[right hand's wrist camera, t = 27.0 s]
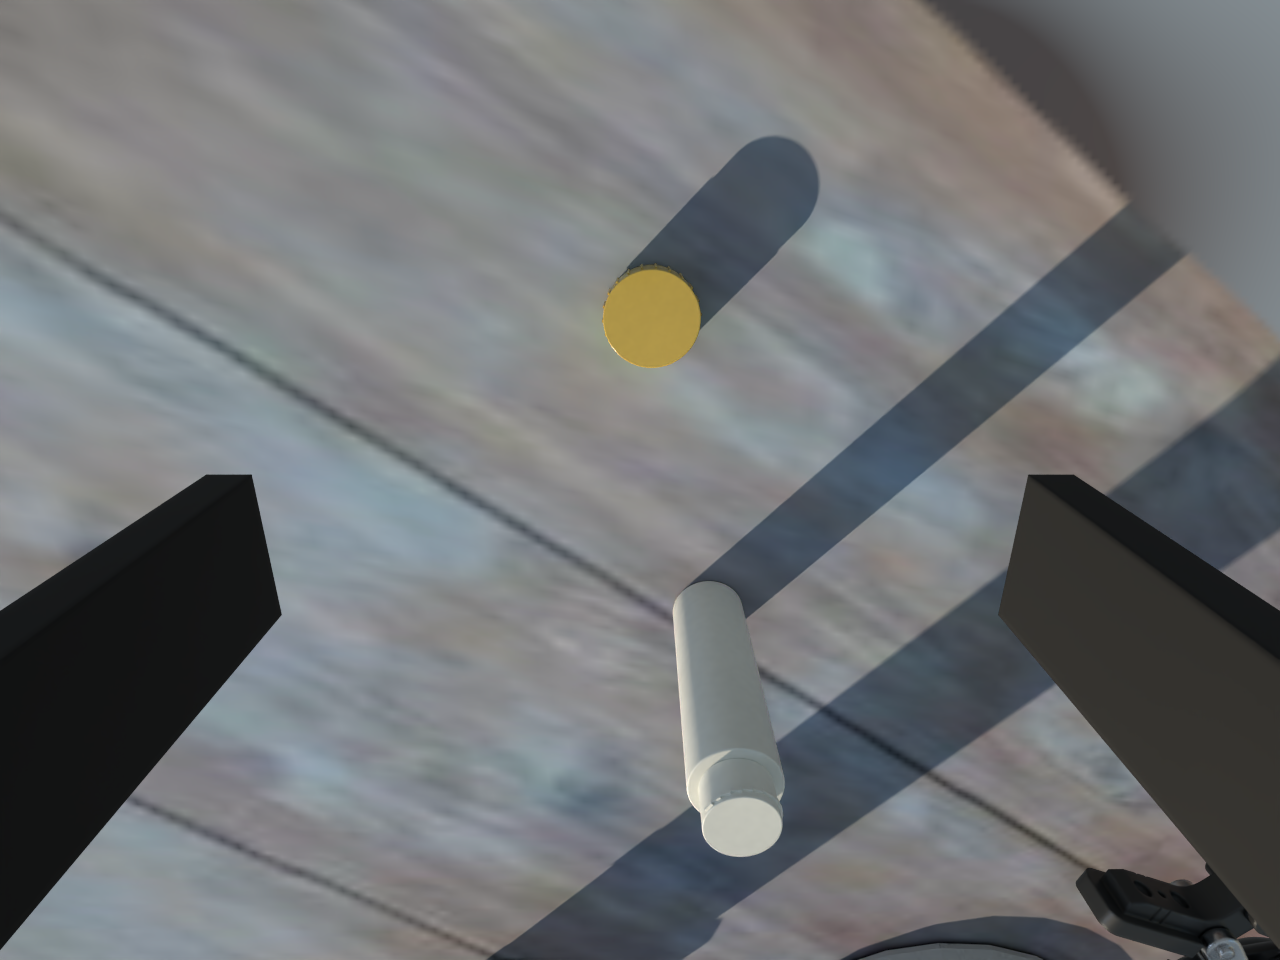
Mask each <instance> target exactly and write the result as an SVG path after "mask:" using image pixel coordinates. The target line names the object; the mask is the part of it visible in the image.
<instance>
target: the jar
mask: <svg viewBox="0 0 1280 960" xmlns="http://www.w3.org/2000/svg"><path fill="white" fill-rule="evenodd" d="M673 619H674V632H675V645H676V657H677V670H678V683H679V696H680V709H681V722H682V735H683V747H684V760H685V773H686V786H687V794H688V797H689V799H690V801H691V803H692V804H693V806H694V807H695V808H696V809H697V810H698V811H699V812H700V813H701V823H702V832H703V836H704V838H705V840H706V841H707V843H708V844H709V845H710V846H711V847H712V848H713V849H715V850H716V851H718V852H720V853H722V854H725V855H729V856H736V857H745V856H752V855H756V854H759V853H761V852H763V851H765V850H767V849H768V848H770V847H771V846H772V845H773V844H774V843H775V842H776V841H777V840H778V838H779V837H780V834H781V832H782V827H783V822H782V818H783V809H782V805H781V803H780V800H781V798H782V795H783V792H784V789H785V778H784V774H783V770H782V766H781V761H780V757H779V753H778V749H777V745H776V741H775V737H774V733H773V729H772V725H771V721H770V717H769V712H768V708H767V704H766V700H765V696H764V692H763V688H762V684H761V680H760V676H759V672H758V668H757V664H756V659H755V655H754V651H753V647H752V643H751V639H750V635H749V631H748V627H747V623H746V619H745V615H744V610H743V606H742V602H741V600H740V598H739V596H738V595H737V593H736V592H735V591H734V590H733V589H732V588H730V587H729V586H727V585H725V584H722V583H719V582H715V581H703V582H698V583H695V584H693V585H691V586H689V587H687V588H686V589H685V590H683V591H682V592H681V594H680V595H679V596H678V597H677V599H676V601H675V604H674V608H673Z"/></svg>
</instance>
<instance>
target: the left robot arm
mask: <svg viewBox="0 0 1280 960" xmlns="http://www.w3.org/2000/svg"><path fill="white" fill-rule="evenodd" d="M1205 869H1206V871H1207V872H1208V873H1209V874H1210V876H1208V877H1207V878H1205V879H1204V880H1202V881H1200V882H1198V883H1196V884H1193V883H1192V882H1190V881H1188V880H1176V881H1173V882H1171V883H1166V882H1163V881H1160V880H1156V879H1153V878H1150V877H1145V876H1144V875H1140V874H1136V873H1134V872H1131V871H1127V870H1124V869H1108V870H1107V872H1102V871H1099V870H1096V869H1093V868H1087V869H1086V870H1085V871H1084V873H1083V874H1082V875H1081V876H1080V877H1079V879H1078V880H1077V881H1076V886H1077V888H1078V890H1079V891H1080V893H1081V895H1082V896H1083V898H1084V899H1085V901H1086V903H1087V904H1088V906H1089V907H1090V909H1091V911H1092V912H1093V914H1094V915H1095V917H1096V919H1097V920H1098V921H1099V923H1100V924H1101V925H1102V926H1103V927H1104V928H1105V929H1106V930H1108V931H1109V932H1110V933H1112V934H1114V935H1116V936H1119V937H1123V938H1126V939H1130V940H1133V941H1136V942H1140V943H1143V944H1147V945H1150V946H1153V947H1157V948H1160V949H1164V950H1167V951H1170V952H1174V953H1177V954H1180V955H1184V957H1182V958H1180V959H1178V960H1280V950H1279V948H1278V947H1277V946H1276V945H1275V944H1274V942H1273V941H1272V940H1271V939H1270V938H1264V937H1247V938H1241V939H1237V938H1238V937H1239V936H1241V935H1243V934H1244V933H1246V932H1248V931H1250V930H1251V929H1253V928H1254V929H1255V930H1256V931H1257V932H1258V933H1259V934H1262V935H1264V936H1267V937H1268V935H1267V934H1266V933H1265V932H1264V931H1263V929H1262V928H1261V927H1260V926H1259V925H1258V923H1257V922H1256V921H1255V920H1254V919H1253V917H1252V916H1251V915H1250V914H1249V913H1248V912H1247V910H1246V909H1245V908H1244V907H1243V906H1242V904H1241V903H1240V902H1239V901H1238V900H1237V898H1236V897H1235V896H1234V895H1233V894H1232V892H1231V891H1230V890H1229V889H1228V888H1227V887H1226V885H1225V884H1224V883H1223V882H1222V881H1221V879H1220V878H1219V877H1218V876H1217V875H1216V873H1215V872H1214V871H1213V870H1212V869H1211V867H1210V866H1209V865H1208V864H1207V863H1206V865H1205ZM1168 960H1169V959H1168Z"/></svg>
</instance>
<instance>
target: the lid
mask: <svg viewBox="0 0 1280 960" xmlns="http://www.w3.org/2000/svg"><path fill="white" fill-rule="evenodd" d="M692 289H693V287H692V285H691V283H688V282H687V281H686V280H685V279H684V277H683V275H682V274H681V273H680V274H679V273H677V272H676V271H674V270H672V269H671V268H670V267H669V266H668V267H665V266H661V265H657V264H656V263H654V265H643V264H641V266H639V267H636V268H633V269H631V270H630V269H628V270H627V272H626V273H625V274H623V275H622V276H621V277H620V278H619V277H617V279H616V282H615V284H614V285H613V286H612V288H609V291H608V297H607V300H606V301H605V302H604V305H603V308H604V314H603V319H602V323H603V324H604V330H605V336H607V339H608V341H609V343H610V345H611V346H612V348H613V349H614V350H615V351H616V352H617V353H618V354H619V355H620V356H621V357H622V358H623V359H625V360H626V361H628V362H630V363H632V364H634V365H637V366H641V367H647V368H657V367H663V366H667V365H669V364H672V363H674V362H676V361H677V360H679V359H680V358H682V357H683V356H684V355H685V354H686V353H687V352H688V351H689V350H690V349H691V347H692V346H693V344H694V343H695V341H696V338H697V336H698V333H699V330H700V324H701V316H702V313H701V311H700V307H699V303H698V302H699V299H698V297H697V295H695V294H694V292H693V290H692Z"/></svg>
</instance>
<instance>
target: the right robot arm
mask: <svg viewBox="0 0 1280 960" xmlns="http://www.w3.org/2000/svg"><path fill="white" fill-rule="evenodd" d="M281 615H282V614H281V609H280V605H279V600H278V595H277V591H276V586H275V581H274V577H273V572H272V567H271V563H270V558H269V553H268V549H267V544H266V539H265V535H264V530H263V525H262V521H261V516H260V511H259V507H258V502H257V497H256V493H255V488H254V483H253V479H252V475H205V476H204V477H202V478H201V479H199V480H198V481H196V482H195V483H193V484H192V485H190V486H189V487H187V488H185V489H184V490H182V491H181V492H179V493H178V494H176V495H175V496H173V497H172V498H170V499H169V500H167V501H166V502H164V503H163V504H161V505H160V506H158V507H157V508H155V509H154V510H152V511H151V512H149V513H148V514H146V515H145V516H143V517H142V518H140V519H139V520H137V521H136V522H134V523H133V524H131V525H129V526H128V527H126V528H125V529H123V530H122V531H120V532H119V533H117V534H116V535H114V536H113V537H111V538H110V539H108V540H107V541H105V542H104V543H102V544H101V545H99V546H98V547H96V548H95V549H93V550H92V551H90V552H89V553H87V554H86V555H84V556H83V557H81V558H80V559H78V560H77V561H75V562H73V563H72V564H70V565H69V566H67V567H66V568H64V569H63V570H61V571H60V572H58V573H57V574H55V575H54V576H52V577H51V578H49V579H48V580H46V581H45V582H43V583H42V584H40V585H39V586H37V587H36V588H34V589H33V590H31V591H30V592H28V593H27V594H25V595H24V596H22V597H21V598H19V599H18V600H16V601H14V602H13V603H11V604H10V605H8V606H7V607H5V608H4V609H2V610H1V611H0V950H1V948H2V947H3V946H4V945H5V944H6V942H7V941H8V940H9V939H10V938H11V937H12V935H13V934H14V933H15V932H16V931H17V929H18V928H19V927H20V926H21V925H22V923H23V922H24V921H25V920H26V919H27V917H28V916H29V915H30V914H31V913H32V912H33V910H34V909H35V908H36V907H37V906H38V904H39V903H40V902H41V901H42V900H43V898H44V897H45V896H46V895H47V894H48V892H49V891H50V890H51V889H52V888H53V887H54V885H55V884H56V883H57V882H58V881H59V879H60V878H61V877H62V876H63V875H64V873H65V872H66V871H67V870H68V869H69V867H70V866H71V865H72V864H73V863H74V862H75V860H76V859H77V858H78V857H79V856H80V854H81V853H82V852H83V851H84V850H85V848H86V847H87V846H88V845H89V844H90V842H91V841H92V840H93V839H94V838H95V837H96V835H97V834H98V833H99V832H100V831H101V829H102V828H103V827H104V826H105V825H106V823H107V822H108V821H109V820H110V819H111V817H112V816H113V815H114V814H115V813H116V811H117V810H118V809H119V808H120V807H121V806H122V804H123V803H124V802H125V801H126V800H127V798H128V797H129V796H130V795H131V794H132V792H133V791H134V790H135V789H136V788H137V786H138V785H139V784H140V783H141V782H142V781H143V779H144V778H145V777H146V776H147V775H148V773H149V772H150V771H151V770H152V769H153V767H154V766H155V765H156V764H157V763H158V761H159V760H160V759H161V758H162V757H163V756H164V754H165V753H166V752H167V751H168V750H169V748H170V747H171V746H172V745H173V744H174V742H175V741H176V740H177V739H178V738H179V736H180V735H181V734H182V733H183V732H184V731H185V729H186V728H187V727H188V726H189V725H190V723H191V722H192V721H193V720H194V719H195V717H196V716H197V715H198V714H199V713H200V711H201V710H202V709H203V708H204V707H205V706H206V704H207V703H208V702H209V701H210V700H211V698H212V697H213V696H214V695H215V694H216V692H217V691H218V690H219V689H220V688H221V686H222V685H223V684H224V683H225V682H226V681H227V679H228V678H229V677H230V676H231V675H232V673H233V672H234V671H235V670H236V669H237V667H238V666H239V665H240V664H241V663H242V661H243V660H244V659H245V658H246V657H247V656H248V654H249V653H250V652H251V651H252V650H253V648H254V647H255V646H256V645H257V644H258V642H259V641H260V640H261V639H262V638H263V636H264V635H265V634H266V633H267V632H268V631H269V629H270V628H271V627H272V626H273V625H274V623H275V622H276V621H277V620H278V619H279V617H280V616H281ZM998 615H999V616H1000V617H1001V619H1002V620H1003V621H1004V622H1005V623H1006V625H1007V626H1008V627H1009V628H1010V629H1011V631H1012V632H1013V633H1014V634H1015V635H1016V636H1017V638H1018V639H1019V640H1020V641H1021V642H1022V644H1023V645H1024V646H1025V647H1026V648H1027V650H1028V651H1029V652H1030V653H1031V654H1032V656H1033V657H1034V658H1035V659H1036V660H1037V661H1038V663H1039V664H1040V665H1041V666H1042V667H1043V669H1044V670H1045V671H1046V672H1047V673H1048V675H1049V676H1050V677H1051V678H1052V679H1053V681H1054V682H1055V683H1056V684H1057V685H1058V686H1059V688H1060V689H1061V690H1062V691H1063V692H1064V694H1065V695H1066V696H1067V697H1068V698H1069V700H1070V701H1071V702H1072V703H1073V704H1074V706H1075V707H1076V708H1077V709H1078V710H1079V711H1080V713H1081V714H1082V715H1083V716H1084V717H1085V719H1086V720H1087V721H1088V722H1089V723H1090V725H1091V726H1092V727H1093V728H1094V729H1095V731H1096V732H1097V733H1098V734H1099V735H1100V736H1101V738H1102V739H1103V740H1104V741H1105V742H1106V744H1107V745H1108V746H1109V747H1110V748H1111V750H1112V751H1113V752H1114V753H1115V754H1116V756H1117V757H1118V758H1119V759H1120V760H1121V761H1122V763H1123V764H1124V765H1125V766H1126V767H1127V769H1128V770H1129V771H1130V772H1131V773H1132V775H1133V776H1134V777H1135V778H1136V779H1137V781H1138V782H1139V783H1140V784H1141V785H1142V786H1143V788H1144V789H1145V790H1146V791H1147V792H1148V794H1149V795H1150V796H1151V797H1152V798H1153V800H1154V801H1155V802H1156V803H1157V804H1158V806H1159V807H1160V808H1161V809H1162V810H1163V811H1164V813H1165V814H1166V815H1167V816H1168V817H1169V819H1170V820H1171V821H1172V822H1173V823H1174V825H1175V826H1176V827H1177V828H1178V829H1179V831H1180V832H1181V833H1182V834H1183V835H1184V837H1185V838H1186V839H1187V840H1188V841H1189V842H1190V844H1191V845H1192V846H1193V847H1194V848H1195V850H1196V851H1197V852H1198V853H1199V854H1200V856H1201V857H1202V858H1203V859H1204V860H1205V862H1206V863H1207V864H1208V865H1209V866H1210V867H1211V869H1212V870H1213V871H1214V872H1215V873H1216V875H1217V876H1218V877H1219V878H1220V879H1221V881H1222V882H1223V883H1224V884H1225V885H1226V887H1227V888H1228V889H1229V890H1230V891H1231V892H1232V894H1233V895H1234V896H1235V897H1236V898H1237V900H1238V901H1239V902H1240V903H1241V904H1242V906H1243V907H1244V908H1245V909H1246V910H1247V912H1248V913H1249V914H1250V915H1251V916H1252V917H1253V919H1254V920H1255V921H1256V922H1257V923H1258V925H1259V926H1260V927H1261V928H1262V929H1263V931H1264V932H1265V933H1266V934H1267V935H1268V937H1269V938H1270V939H1271V940H1272V941H1273V942H1274V944H1275V945H1276V946H1277V947H1278V948H1279V950H1280V611H1279V610H1278V609H1276V608H1275V607H1273V606H1272V605H1270V604H1269V603H1267V602H1266V601H1264V600H1262V599H1261V598H1259V597H1258V596H1256V595H1255V594H1253V593H1252V592H1250V591H1249V590H1247V589H1246V588H1244V587H1243V586H1241V585H1240V584H1238V583H1237V582H1235V581H1234V580H1232V579H1231V578H1229V577H1228V576H1226V575H1225V574H1223V573H1222V572H1220V571H1219V570H1217V569H1216V568H1214V567H1213V566H1211V565H1210V564H1208V563H1207V562H1205V561H1203V560H1202V559H1200V558H1199V557H1197V556H1196V555H1194V554H1193V553H1191V552H1190V551H1188V550H1187V549H1185V548H1184V547H1182V546H1181V545H1179V544H1178V543H1176V542H1175V541H1173V540H1172V539H1170V538H1169V537H1167V536H1166V535H1164V534H1163V533H1161V532H1160V531H1158V530H1157V529H1155V528H1154V527H1152V526H1151V525H1149V524H1147V523H1146V522H1144V521H1143V520H1141V519H1140V518H1138V517H1137V516H1135V515H1134V514H1132V513H1131V512H1129V511H1128V510H1126V509H1125V508H1123V507H1122V506H1120V505H1119V504H1117V503H1116V502H1114V501H1113V500H1111V499H1110V498H1108V497H1107V496H1105V495H1104V494H1102V493H1101V492H1099V491H1098V490H1096V489H1095V488H1093V487H1091V486H1090V485H1088V484H1087V483H1085V482H1084V481H1082V480H1081V479H1079V478H1078V477H1076V476H1075V475H1028V479H1027V483H1026V488H1025V493H1024V497H1023V502H1022V507H1021V511H1020V516H1019V521H1018V525H1017V530H1016V535H1015V539H1014V544H1013V549H1012V553H1011V558H1010V563H1009V567H1008V572H1007V577H1006V581H1005V586H1004V591H1003V595H1002V600H1001V605H1000V609H999V614H998Z"/></svg>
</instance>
